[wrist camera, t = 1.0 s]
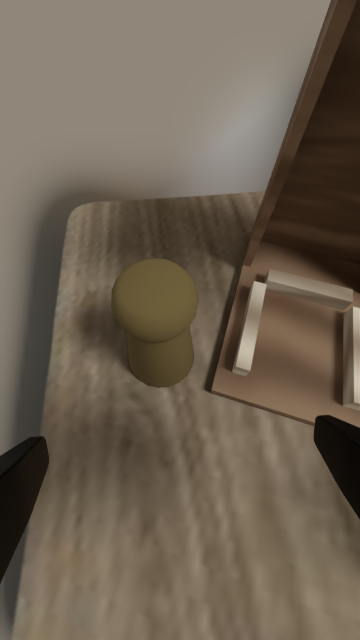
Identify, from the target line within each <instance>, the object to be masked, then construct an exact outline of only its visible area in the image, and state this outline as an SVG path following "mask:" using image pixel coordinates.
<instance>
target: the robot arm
mask: <svg viewBox="0 0 360 640" xmlns="http://www.w3.org/2000/svg"><path fill="white" fill-rule="evenodd" d="M314 442H315V444H316V446H317V448H318V450H319V452H320V454H321V456H322V457H323V459H324V461H325V463H326V465H327V467H328V468H329V470H330V472H331V474H332V476H333V478H334V479H335V481H336V483H337V485H338V486H339V488H340V490H341V491H342V493H343V495H344V496H345V498H346V499H347V501H348V502H349V504H350V505H351V507H352V508H353V510H354V511H355V513H356V514H357V516H358V517H359V519H360V427H357V426H355V425H352V424H350V423H348V422H345V421H343V420H341V419H338V418H336V417H334V416H331V415H318V416H317V417H316V418H315V426H314ZM48 464H49V455H48V449H47V444H46V439H45V437H43V436H37V437H30V438H28V439H27V440H25V441H23V442H22V443H20V444H18V445H17V446H15V447H14V448H12V449H11V450H9V451H7V452H6V453H4V454H3V455H1V456H0V583H1V581H2V579H3V576H4V574H5V572H6V570H7V568H8V565H9V563H10V561H11V559H12V557H13V554H14V552H15V550H16V548H17V546H18V543H19V541H20V539H21V537H22V535H23V532H24V530H25V528H26V526H27V523H28V521H29V519H30V516H31V513H32V511H33V508H34V505H35V502H36V499H37V497H38V494H39V491H40V488H41V485H42V482H43V479H44V476H45V474H46V471H47V468H48Z"/></svg>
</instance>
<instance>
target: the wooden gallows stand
mask: <svg viewBox="0 0 360 640" xmlns="http://www.w3.org/2000/svg"><path fill="white" fill-rule="evenodd" d="M210 393H213V394H216V395H219V396H222V397H225V398H228V399H231V400H234V401H238V402H241V403H244V404H247V405H250V406H253V407H256V408H260V409H263V410H266V411H269V412H272V413H275V414H278V415H282V416H285V417H288V418H291V419H294V420H297V421H300V422H303V423H307V424H310V425H313V426H315V418H316V417H317V416H318V415H331V416H334V417H336V418H338V419H341V420H343V421H345V422H348V423H350V424H352V425H355V426H357V427H360V0H331V2H330V5H329V8H328V11H327V14H326V17H325V20H324V23H323V26H322V29H321V32H320V34H319V37H318V40H317V43H316V46H315V49H314V52H313V55H312V58H311V60H310V63H309V66H308V69H307V72H306V75H305V78H304V81H303V84H302V87H301V90H300V93H299V95H298V99H297V102H296V104H295V107H294V110H293V113H292V116H291V119H290V122H289V125H288V128H287V130H286V134H285V136H284V139H283V142H282V145H281V148H280V151H279V154H278V157H277V160H276V163H275V166H274V168H273V171H272V175H271V177H270V180H269V183H268V186H267V189H266V192H265V195H264V197H263V200H262V203H261V206H260V209H259V212H258V215H257V218H256V221H255V224H254V227H253V230H252V232H251V235H250V238H249V242H248V246H247V250H246V253H245V257H244V261H243V265H242V269H241V273H240V277H239V281H238V285H237V289H236V293H235V297H234V300H233V304H232V308H231V312H230V316H229V320H228V324H227V328H226V332H225V336H224V340H223V344H222V348H221V351H220V355H219V359H218V363H217V367H216V371H215V375H214V379H213V383H212V387H211V391H210Z"/></svg>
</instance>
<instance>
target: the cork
mask: <svg viewBox="0 0 360 640" xmlns="http://www.w3.org/2000/svg"><path fill="white" fill-rule="evenodd" d="M197 305H198V294H197V289H196V285H195V283H194V281H193V279H192V278H191V276H190V274H189V273H187V272H186V271H185V270H184V269H183V268H182V267H181V266H179V265H178V264H176V263H174V262H172V261H170V260H166V259H160V258H150V259H144V260H141V261H137V262H135V263H133V264H132V265H130V266H128V267H127V268H126V269H125V270H124V271H123V272H122V273H121V274H120V275H119V277H118V278H117V279H116V281H115V284H114V286H113V289H112V300H111V307H112V310H113V313H114V315H115V318H116V320H117V322H118V324H119V325H120V326H121V327H122V328H123V329H124V331H125V332H126V333H127V342H128V358H129V365H130V367H131V370H132V372H133V374H134V375H135V376H136V377H137V378H138V380H140V381H141V382H143V383H145V384H146V385H148V386H153V387H157V388H160V387H169V386H172V385H174V384H176V383H179V382H180V381H181V380H182V379H183V378H185V377H186V376H187V375H188V373H189V371H190V369H191V368H192V365H193V360H194V352H193V345H192V339H191V333H190V326H189V325H190V324H191V322H192V321H193V319H194V318H195V315H196V310H197Z"/></svg>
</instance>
